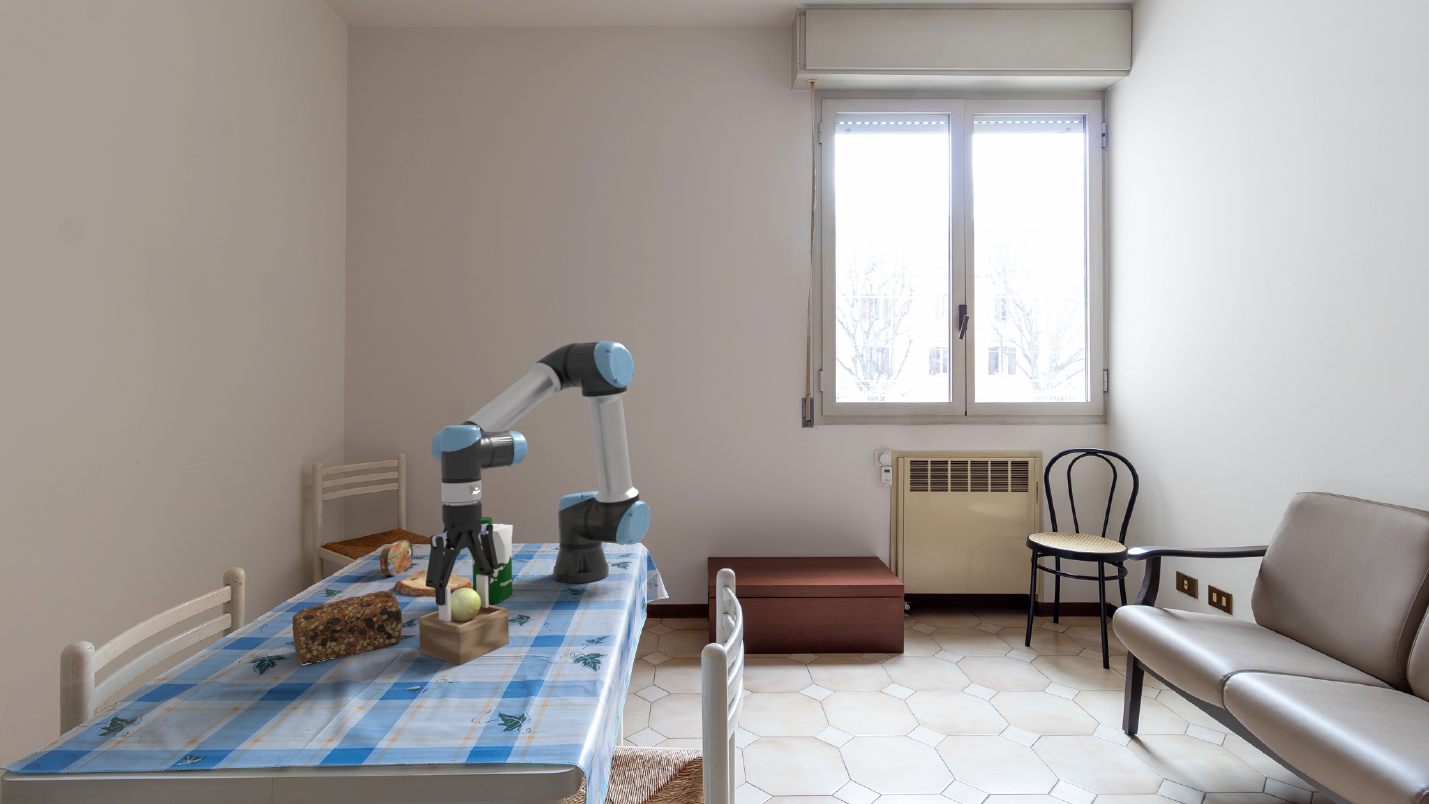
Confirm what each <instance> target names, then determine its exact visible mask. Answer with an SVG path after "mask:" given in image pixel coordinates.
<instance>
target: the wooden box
mask: <svg viewBox="0 0 1429 804" xmlns="http://www.w3.org/2000/svg"><path fill="white" fill-rule="evenodd" d="M418 621H419V622H418V623H419V624H418V625H419V653H420V654H422V655H427V656H429V657H433V658H435V659H439V660H442V661H446V662H450V663H453V664H456V665H460V666H461V665H464V664H466V663H468V662H471V661H472V660H475V659H478V658H479V657H482V656H485V655H486V654H489V653H491V652H494V651H495V650H497V649H500V648H502V647H504V646H506V645H509V644H510V637H509V635H510V633H509V632H510V631H509V628H510V627H509V609H508V608H505V607H501V606H497V605H492V604H489V607H487V608H484V607H480V609H479V611H478V613H477V614H476V616H474V617H473V618H471V619H470V620H468V621H464V622H461V621H456V620H454V619H453V618H451V621H449V622H447V621H443V620H439V609H438V610H436V611H433V612H430V613H427V614H424V615H421V616H419V618H418Z"/></svg>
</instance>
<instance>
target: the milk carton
mask: <svg viewBox="0 0 1429 804" xmlns="http://www.w3.org/2000/svg"><path fill="white" fill-rule="evenodd" d="M492 518H493V517H490V516H489V517H488V516H487V517H485V516H484V517H483V516H482V519H481V520H480V523H481V525H482V524H483V523H484V524H491V525H493V541H494V546H495V551H496V556H497V561H498V569H496V570H495V569H494V574H493V575H490V589H489V590H488V602H489V604H497V605H498V604H500V603H502V602H503V601H505V600H507V599H508V598H509V597H511V596H513V563H512V561H513V559H512V558H513V557H512V556H513V555H512V554H513V553H512V552H513V551H512V548H513V547H512V540H513V527H514V525H513V524H504V523H493V519H492ZM478 538H479V540H480V542H481V538H480V534H479V536H478ZM481 548H482V546H481ZM482 550H483V549H482ZM471 557H472V556H471ZM471 560H472V586H473V590H474V591H476V575H478V574H481V573H480V572H479V570H478V568H477V566H476V563H475V561H474V559H473V557H472V559H471ZM506 598H507V599H506Z"/></svg>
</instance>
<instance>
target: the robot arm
mask: <svg viewBox="0 0 1429 804" xmlns="http://www.w3.org/2000/svg"><path fill="white" fill-rule="evenodd" d="M528 370H529V372H528V373H526V375H524V376H523V377H522V378H520V379H519V380H517V381H516V382H515V383H514V384H512V385H511V386H510V387H508V388H507V389H505V390H504V391H502V392H501V394H500V393H499V395H498V396H497V397H495V398H493V400H492V401H490V402H488V403H487V404H486V405H484V406H483V407H482V408H480V409H479V410H477V412H476V413H474V414H472V415H471V416H470V417H468V419H466V420H464V421H463V422H462V423H461V424H459V425H447V426H444V427H443V428H442V429H441V430H440V431H439V432H437V433H435V434H434V435H433V437H432V438H431V439H432V440H431V442H430V451H431V454H432V456H433V458H434V459H435V460H436V461H438V462H440V471H441V482H440V483H441V502H442V503H443V504H442V506H441V516H442V517H441V518H442V519H441V520H442V523H443V525H444V527H443V531H442V533H440V534H438V535H434V534H432V535H430V536H429V544H430V552H429V559H428V565H427V570H426V571H427V577H426V586H427V587H431V588H435V596H434V597H435V604H436V606H438V610H439V620H443V621H447V622H449V621H451V588H449V587H447V584H448V581H449V578H450V575H452V572H453V569H454V567H455V563H456V561H457V557H458V556H459V555H460V554H461V552H462V550H464V549H466V548H467V549H468V550H469V552H470V555H471V557H473V559H474V561H475V563H476V566H477V568H478V570H479V572H480V573H481V574H478V575H476V592H477V594H478V595H479V597H480V599H481V606H480V607H484V608H487V607H489V605H490V603H489V602H488V590H489V589H490V575H493V574H494V569H495V570H496V569H498V561H497V556H496V551H495V546H494V541H493V525H491V524H484V523H483V524H482V525H481V523H480V520H481V519H482V517H483V507H482V506H483V503H482V501H480V500H481V499H482V470H483V471H484V470H488V469H495V468H496V469H497V468H504V467H511V466H515V465H518V464H521V463H522V462H524V460H525V459H526V457H527V454H528V442H527V440H526V438H525V436H524V435H523V434H522V433H521V432H519V431H516V430H508V429H510V428H511V427H512V426H513V425H515V424H516V423H517V422H518V421H519V420H520V419H522V418H523V417H524V416H525V415H527V414H528V413H529V412H530V411H532V410H533V409H534V408H535V407H536V406H538V405H539V404H540V403H541V402H542V401H544V400H545V399H546V398H547V397H549V396H550V397H553V396H556V395H557V394H559V393H560V392H562V391H563V390H565V389H570V388H581V395H582V398H583V399H585V400H586V401H587V402H588V403H589V404H588V405H589V411H590V412H589V413H590V421H591V428H592V436H593V437H592V438H593V444H594V452H595V453H594V454H595V460H596V461H595V462H596V469H597V471H596V472H597V478H598V485H599V490H592V491H583V492H576V493H570V494H565V495H563V496H561V497H560V499H559V501H558V511H557V514H558V540H559V543H558V544H559V550H558V552H557V553H558V554H557V555H556V560H555V565H554V566H553V572H552V573H553V574H552V575H553V576H552V577H553V579H554V580H555V581H558V582H561V583H567V584H569V583H570V584H579V583H580V584H581V583H582V584H583V583H590V582H595V581H599V580H603V579H605V578H606V577H608V576H609V575H610V574H609V572H610V571H609V564H608V562H607V560H606V555H605V552H604V548H603V546H602V545H603V542H604V543H611V544H616V545H617V544H618V545H621V546H624V545H625V546H626V545H627V546H632V545H636V544H637V543H639V542H641V541H642V540H643V539H644V537H645V535H646V534H647V531H648V529H649V527H650V523H651V509H650V507H649V505H648V504H647V503H646V502H645V501H644V500H640V493H639V490H638V489H637V488H635V487H634V486H633V482H632V481H633V480H632V472H631V464H630V457H629V456H630V455H629V448H628V447H629V446H628V439H627V430H626V429H627V428H626V421H625V411H624V404H623V398H624V396H625V395H626V394H627V392H628V386H629V385H630V384H631V382H632V381H633V379H634V378H633V376H634V374H635V364H634V360H633V357H632V354H631V353H630V351H629V350H628V349H627V348H626V347H625V346H624V345H623V344H622V343H619V342H618V341H617V342H616V341H606V340H604V341H592V342H573V343H568V344H565V345H562V346H559V347H558V348H556V349H554V350H553V351H551V352H549V353H548V354H546V355H545V356H543V357H541V358H540V359H539V360H537V361H536V362H535V363H533V364H532V365H531V366H530V367H529V369H528ZM479 534H480V538H481V542H480V540H479V538H478V536H479ZM481 546H482V548H481ZM482 549H483V550H482ZM441 581H442V582H441Z"/></svg>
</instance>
